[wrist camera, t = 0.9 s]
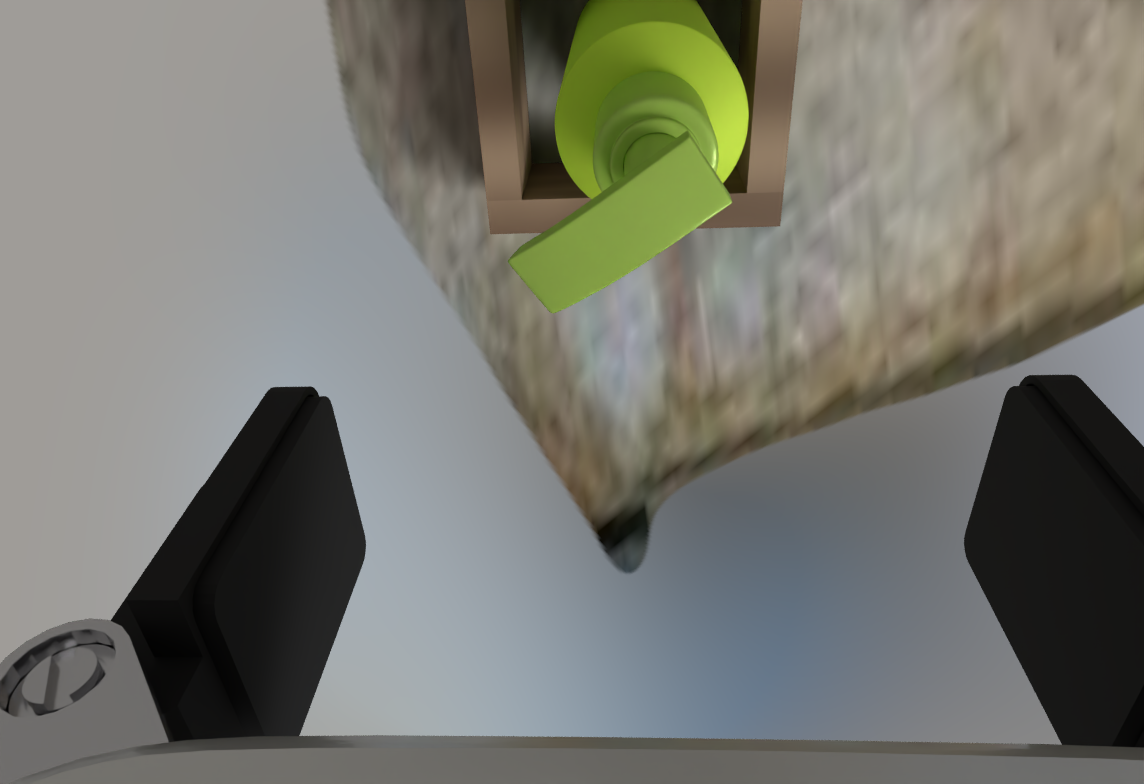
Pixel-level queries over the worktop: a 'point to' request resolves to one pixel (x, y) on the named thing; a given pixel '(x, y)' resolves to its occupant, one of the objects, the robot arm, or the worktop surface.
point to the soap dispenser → (637, 143)
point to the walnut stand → (546, 189)
